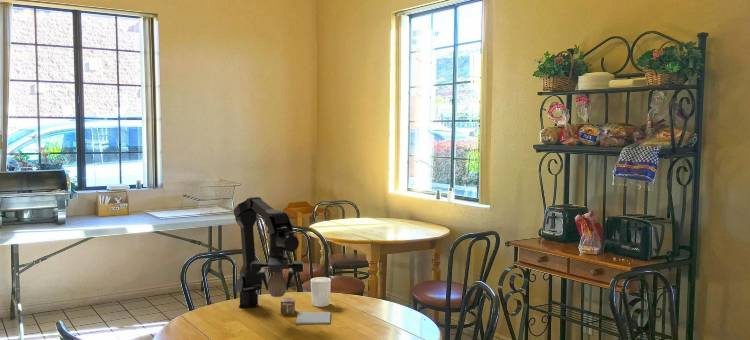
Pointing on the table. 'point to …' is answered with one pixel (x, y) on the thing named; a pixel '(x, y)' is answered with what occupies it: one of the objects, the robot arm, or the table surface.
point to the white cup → (320, 291)
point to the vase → (277, 285)
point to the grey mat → (313, 318)
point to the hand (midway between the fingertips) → (277, 290)
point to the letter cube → (287, 305)
